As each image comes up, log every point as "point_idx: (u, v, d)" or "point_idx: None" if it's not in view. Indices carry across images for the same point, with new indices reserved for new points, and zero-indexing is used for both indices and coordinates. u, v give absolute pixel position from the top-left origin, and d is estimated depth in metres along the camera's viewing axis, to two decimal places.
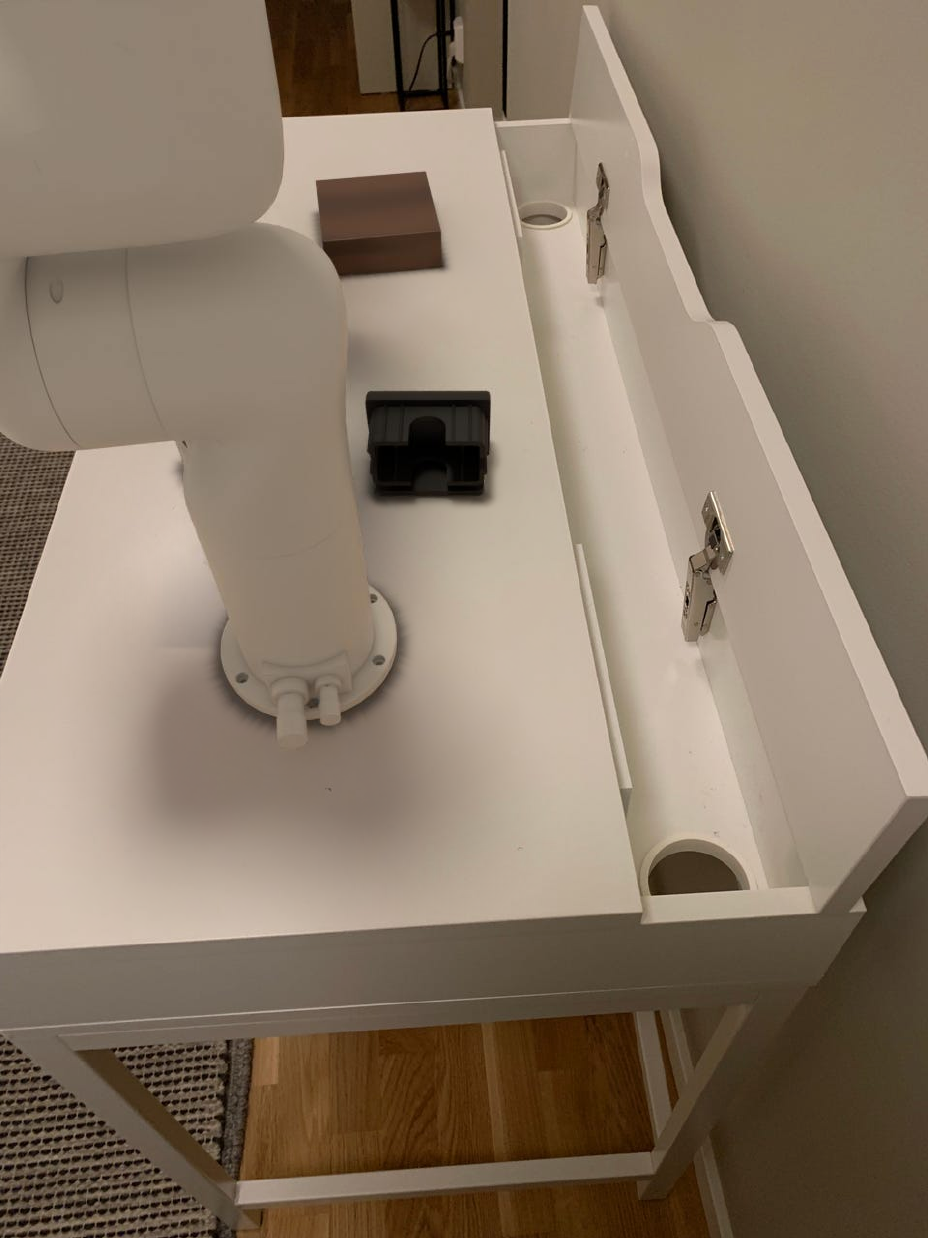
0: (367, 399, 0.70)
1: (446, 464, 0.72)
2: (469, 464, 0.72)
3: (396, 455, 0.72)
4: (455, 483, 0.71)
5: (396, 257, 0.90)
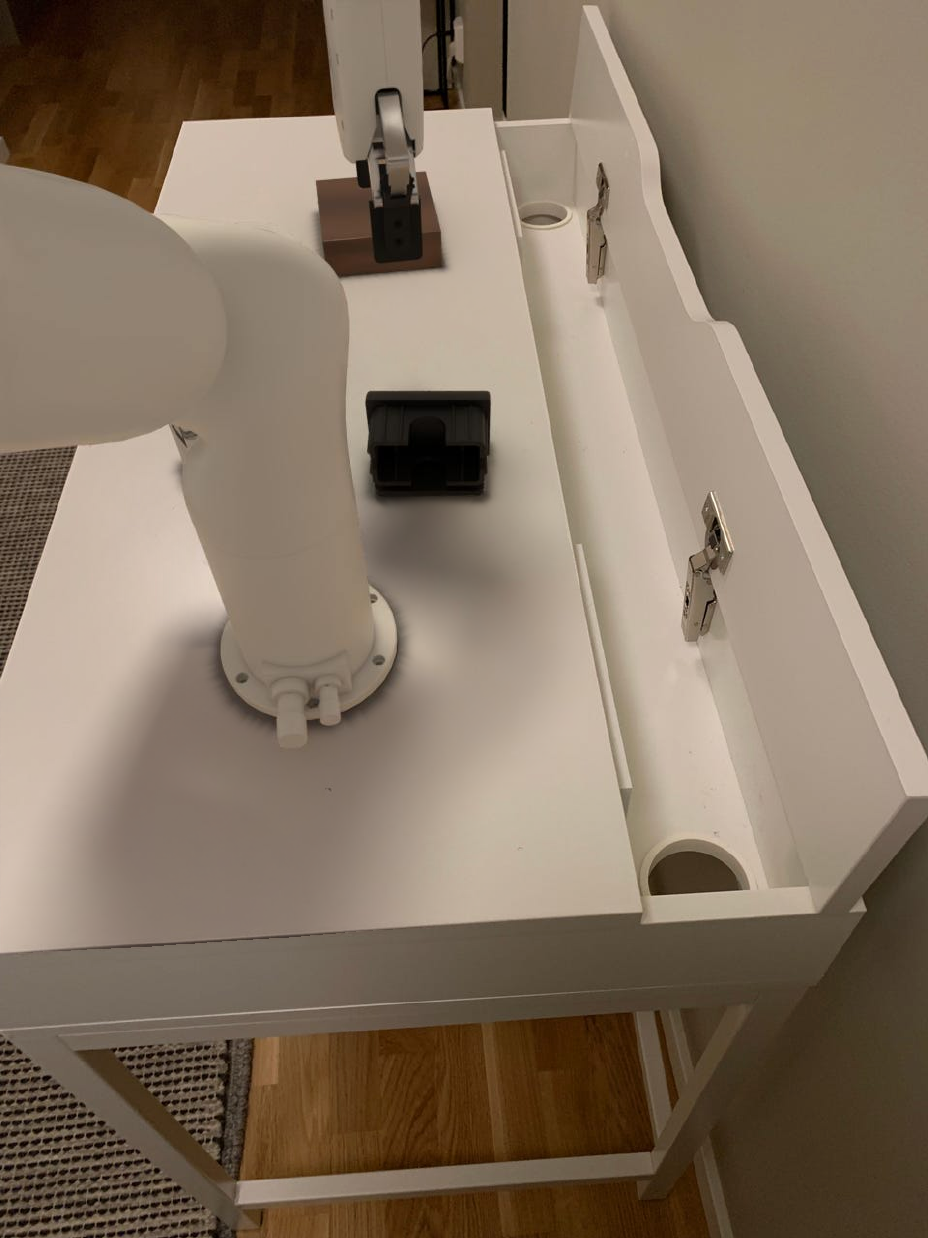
0: (367, 399, 0.70)
1: (446, 464, 0.72)
2: (469, 464, 0.72)
3: (396, 455, 0.72)
4: (455, 483, 0.71)
5: None
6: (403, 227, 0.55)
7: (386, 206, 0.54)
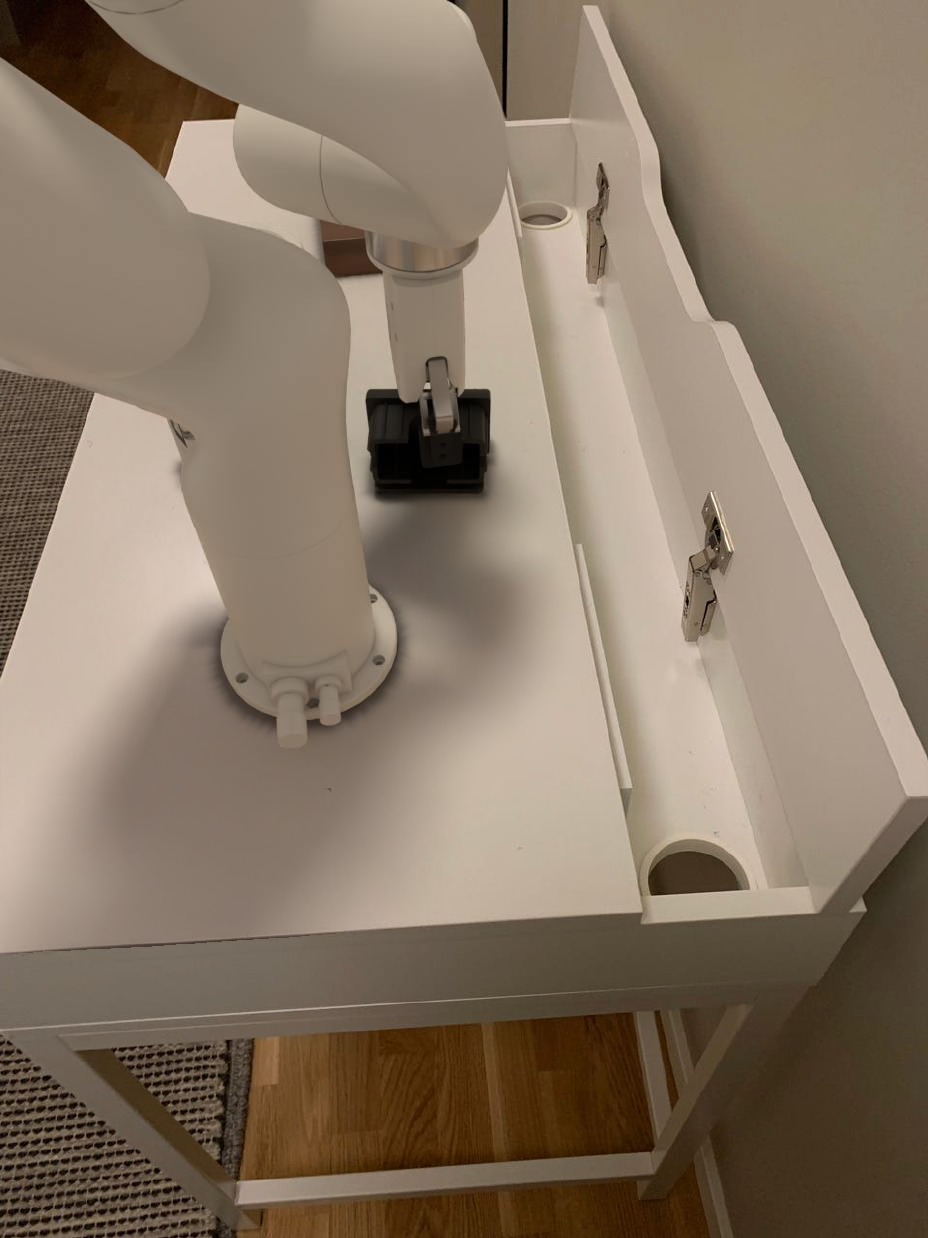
0: (367, 397, 0.70)
1: None
2: (469, 462, 0.72)
3: (396, 453, 0.72)
4: (455, 481, 0.72)
5: None
6: (446, 446, 0.66)
7: (433, 435, 0.65)
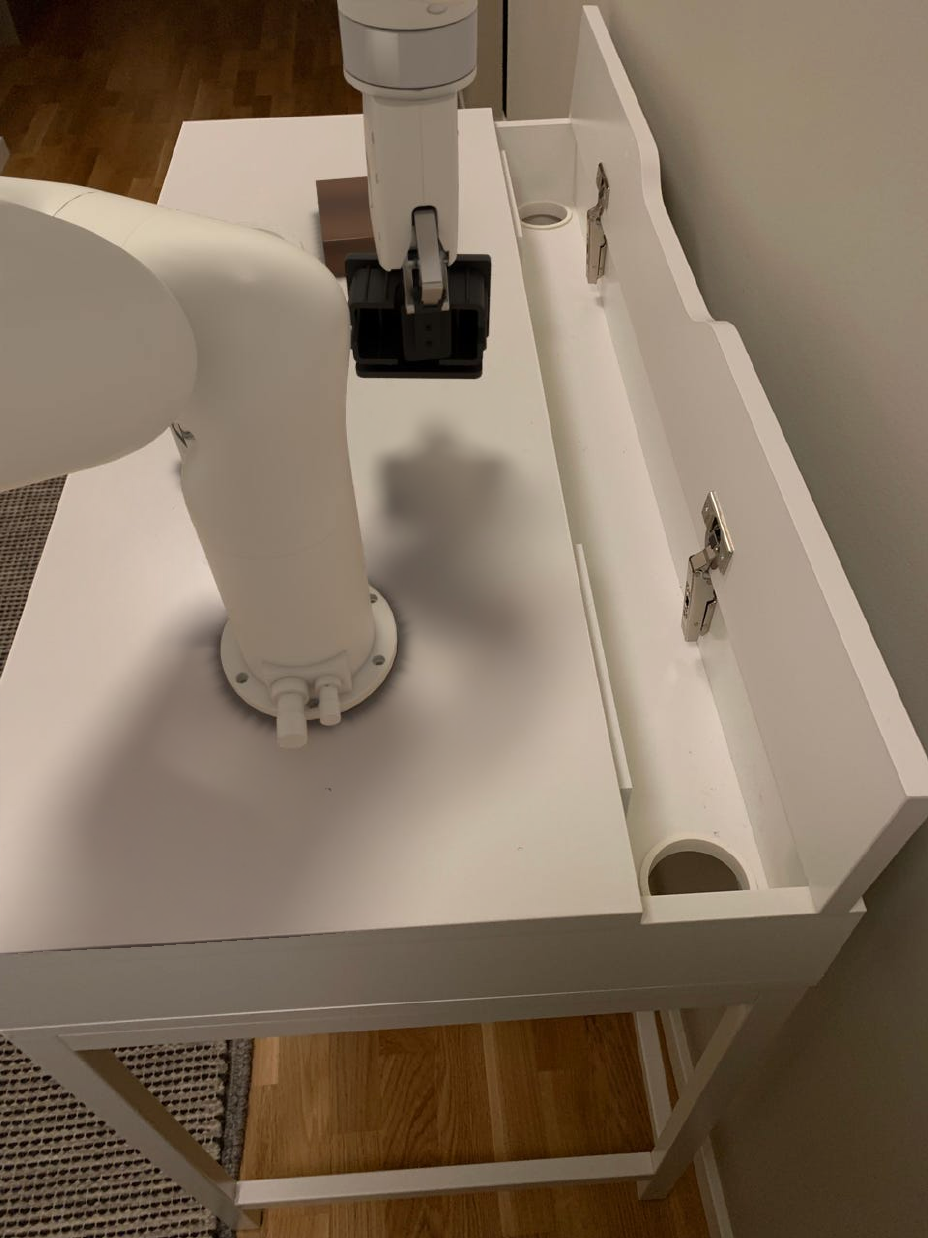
0: (347, 258, 0.59)
1: None
2: (465, 342, 0.62)
3: (380, 330, 0.62)
4: (449, 362, 0.61)
5: None
6: (433, 330, 0.57)
7: (418, 312, 0.56)
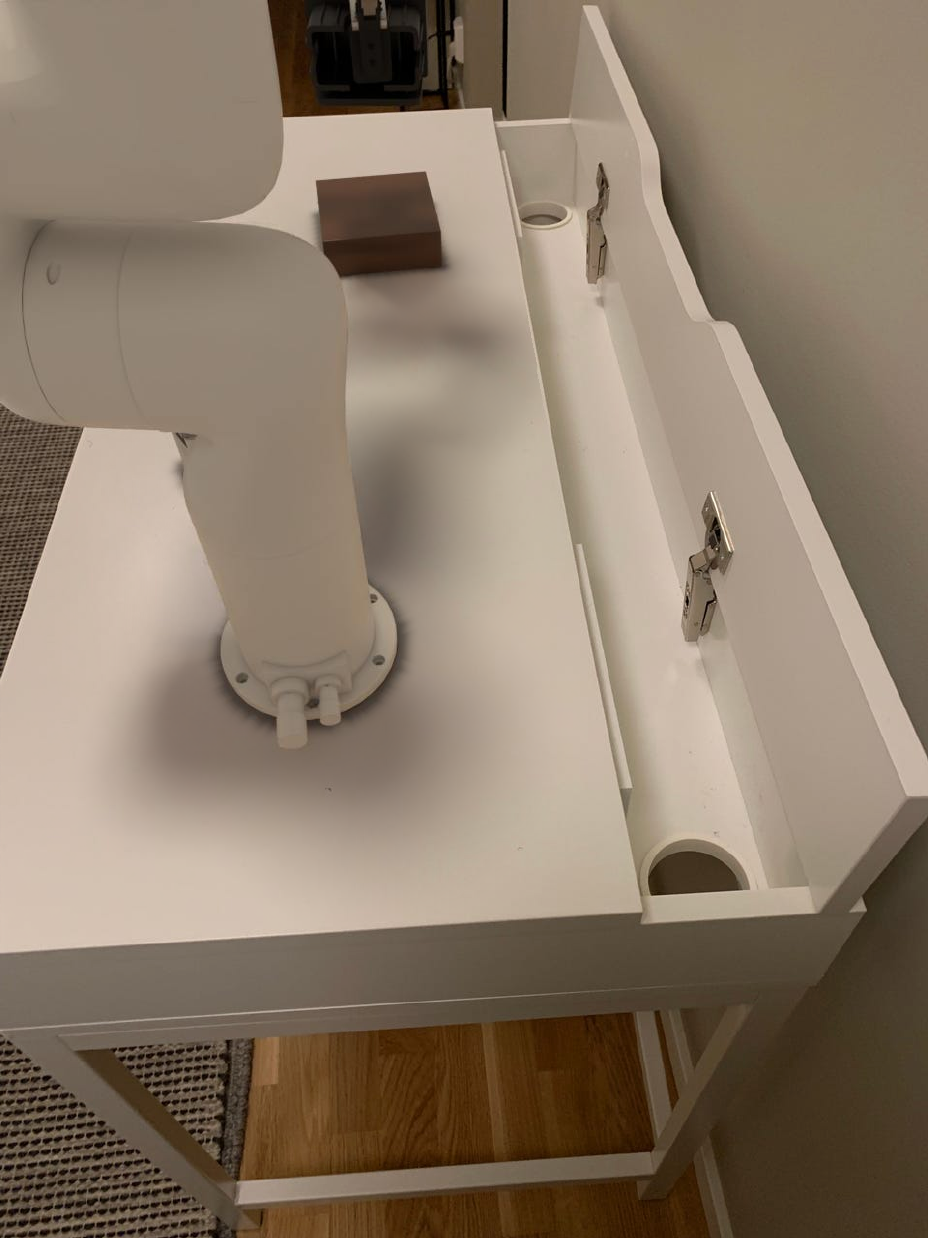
0: None
1: None
2: (407, 74, 0.75)
3: (336, 64, 0.75)
4: (392, 88, 0.74)
5: (396, 257, 0.90)
6: (375, 49, 0.70)
7: (361, 28, 0.68)
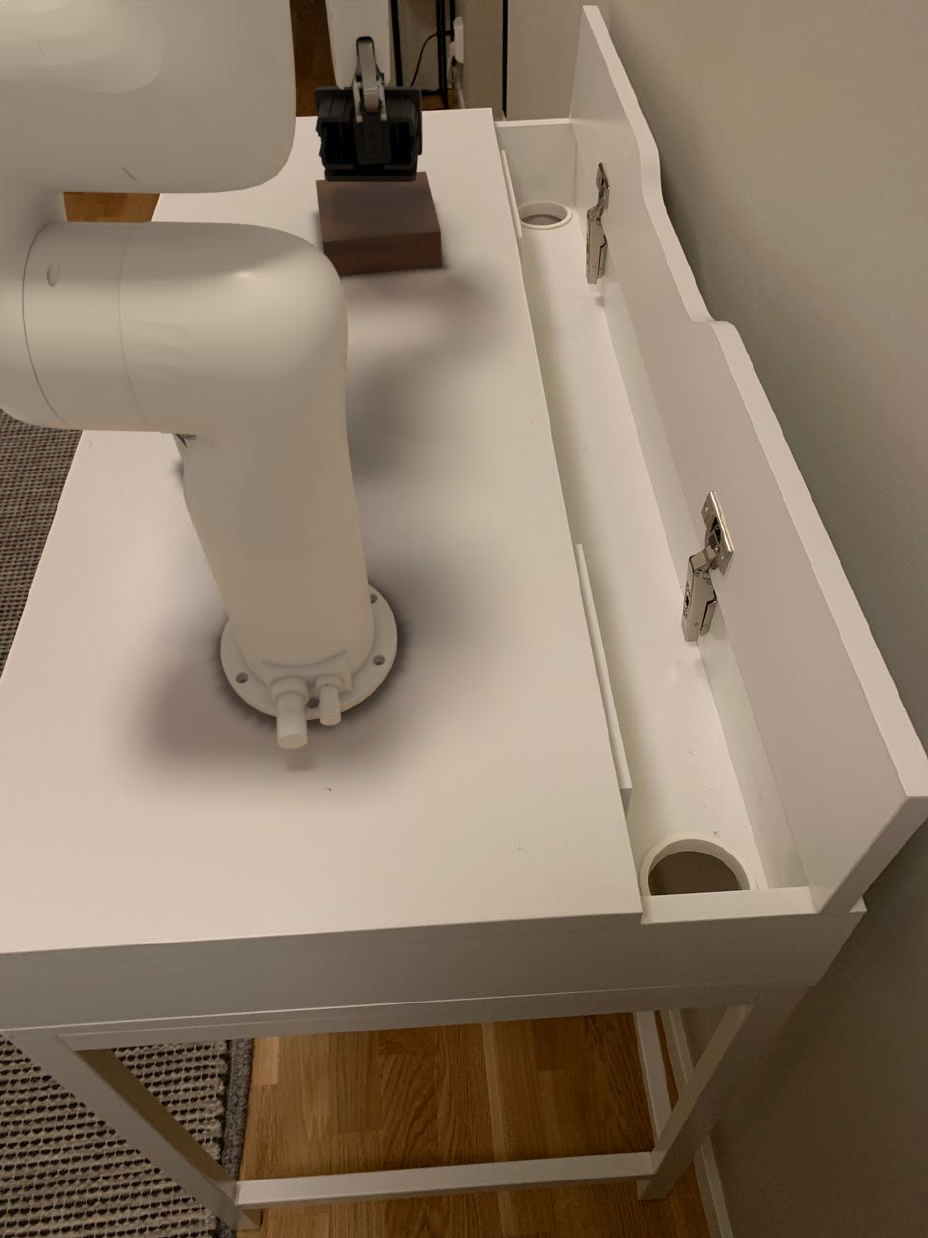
0: (316, 89, 0.83)
1: None
2: (403, 154, 0.86)
3: (342, 146, 0.86)
4: (391, 167, 0.85)
5: (396, 257, 0.90)
6: (376, 137, 0.81)
7: (364, 121, 0.80)
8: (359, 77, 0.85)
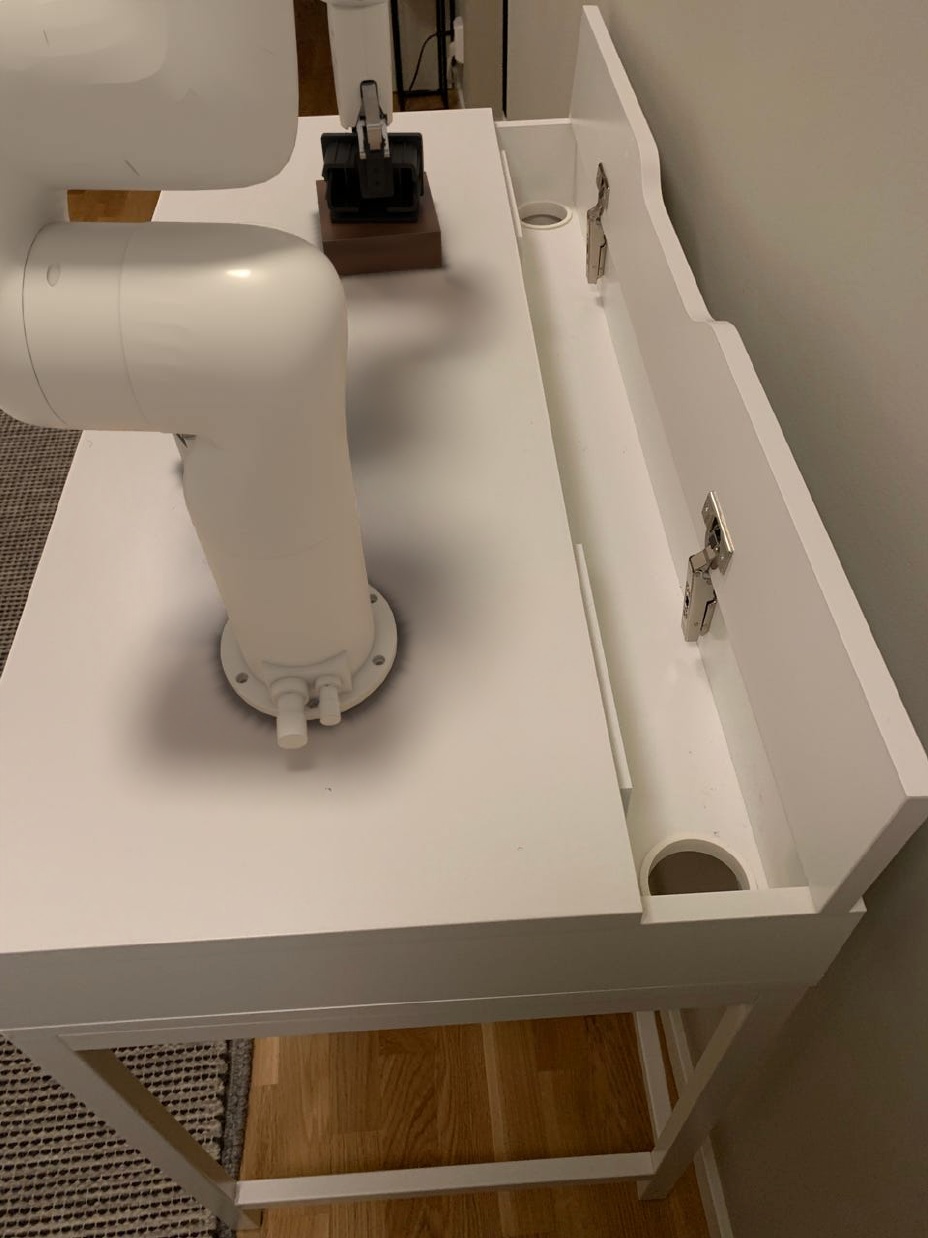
0: (322, 135, 0.86)
1: None
2: (406, 196, 0.89)
3: (347, 188, 0.89)
4: (394, 209, 0.88)
5: (396, 257, 0.90)
6: (380, 173, 0.83)
7: (368, 158, 0.82)
8: None
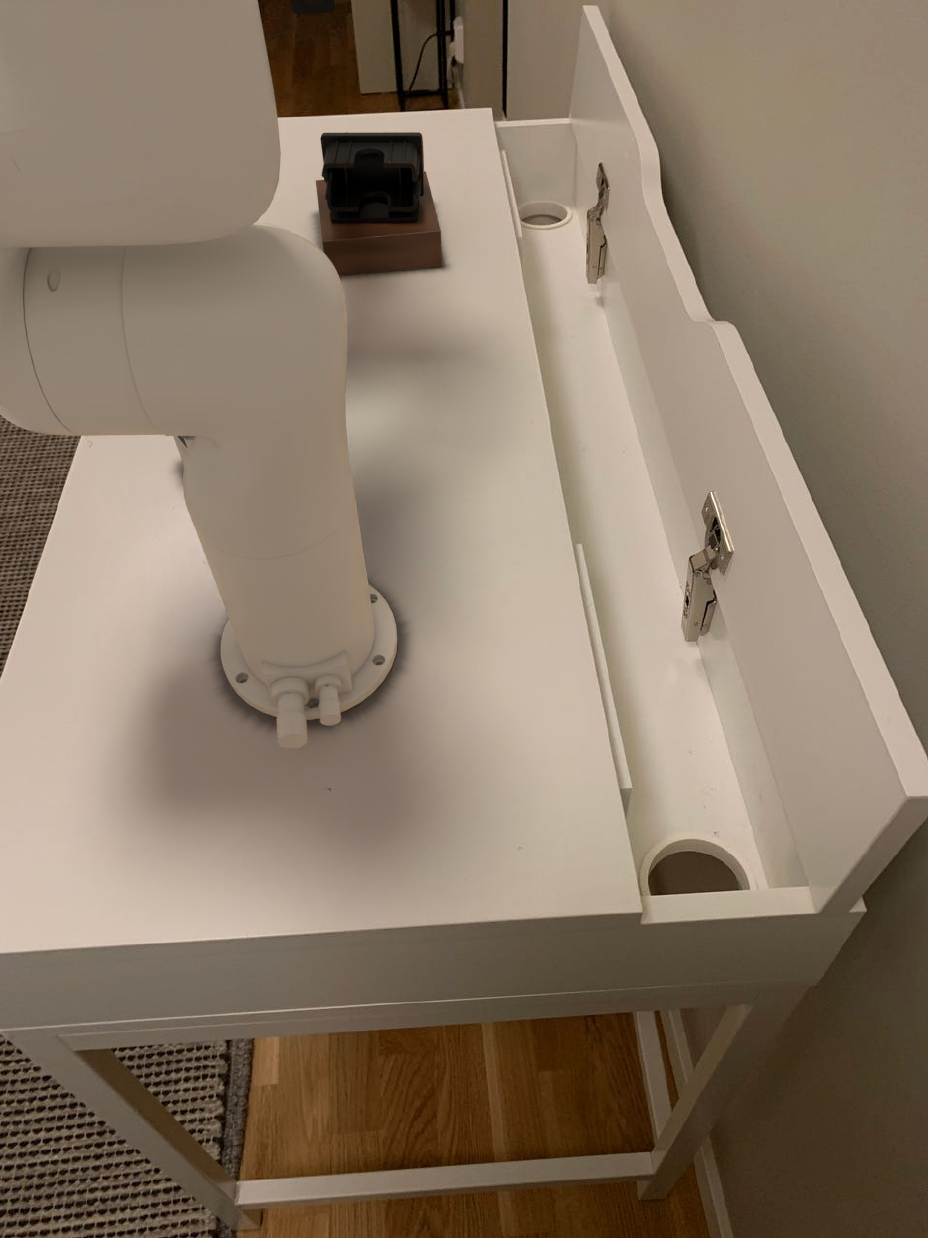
0: (322, 135, 0.86)
1: (387, 196, 0.89)
2: (406, 196, 0.89)
3: (347, 188, 0.89)
4: (394, 209, 0.88)
5: (396, 257, 0.90)
6: None
7: None
8: None
